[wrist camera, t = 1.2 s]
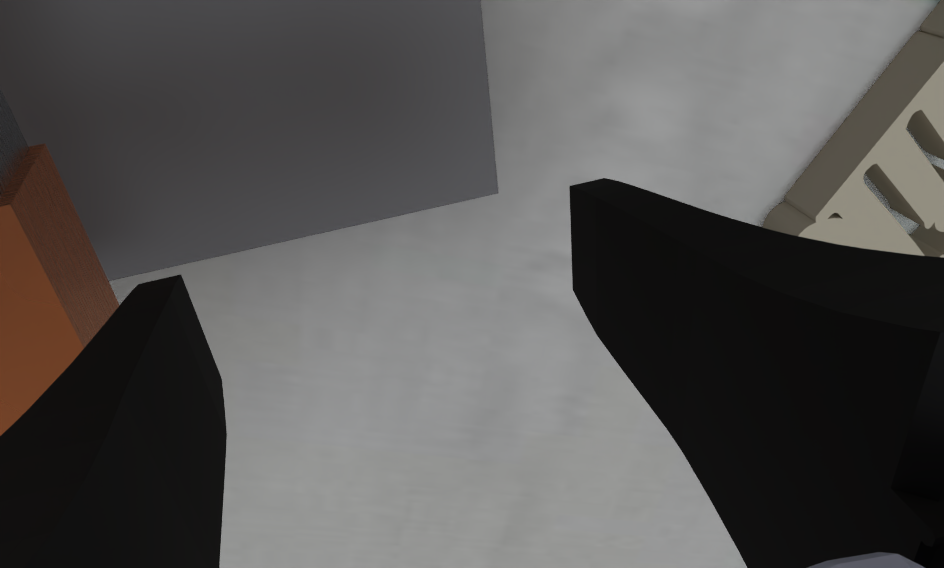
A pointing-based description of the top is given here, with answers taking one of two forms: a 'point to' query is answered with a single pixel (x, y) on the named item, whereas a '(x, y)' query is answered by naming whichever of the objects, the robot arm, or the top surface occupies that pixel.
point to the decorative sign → (881, 161)
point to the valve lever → (41, 274)
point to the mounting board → (248, 116)
